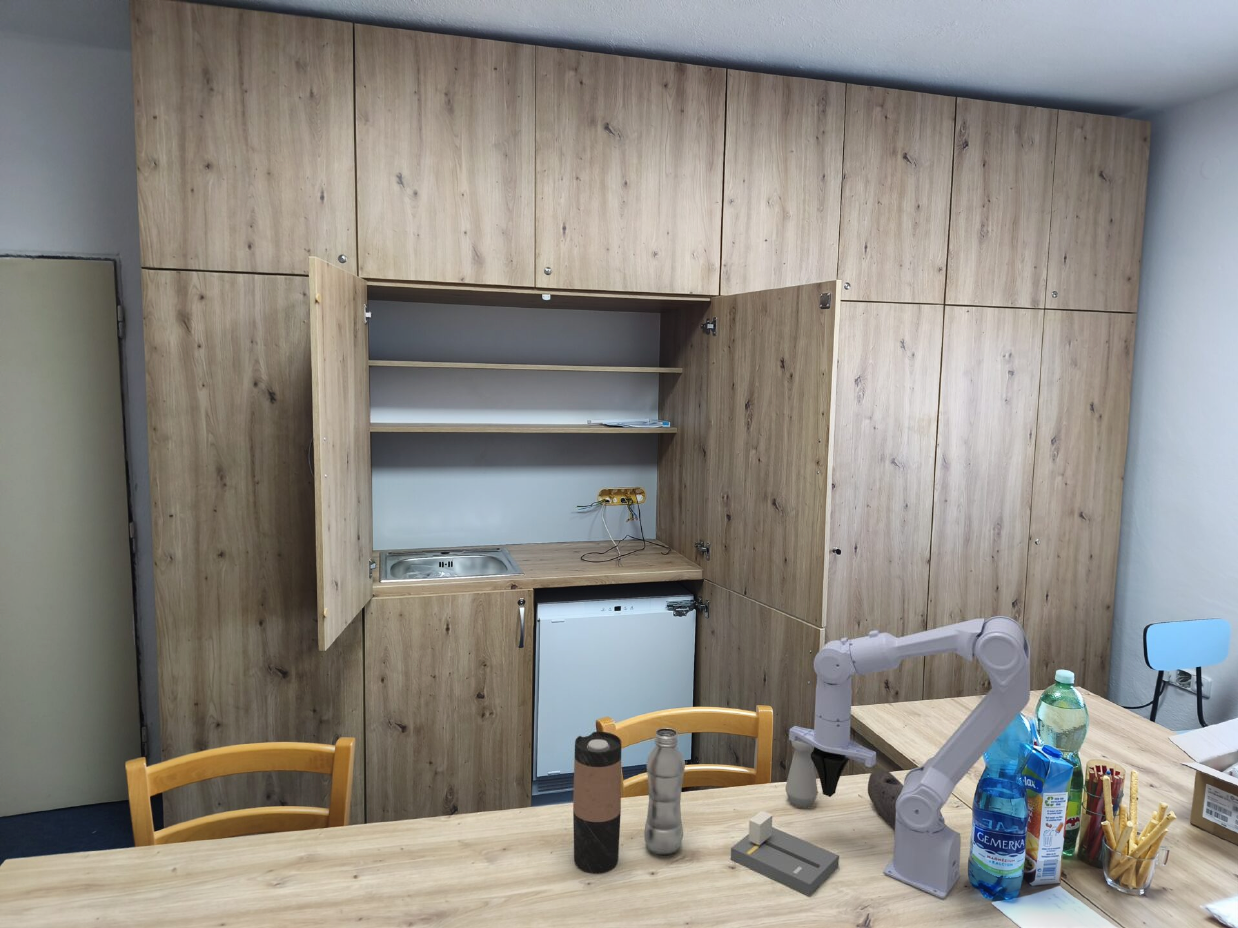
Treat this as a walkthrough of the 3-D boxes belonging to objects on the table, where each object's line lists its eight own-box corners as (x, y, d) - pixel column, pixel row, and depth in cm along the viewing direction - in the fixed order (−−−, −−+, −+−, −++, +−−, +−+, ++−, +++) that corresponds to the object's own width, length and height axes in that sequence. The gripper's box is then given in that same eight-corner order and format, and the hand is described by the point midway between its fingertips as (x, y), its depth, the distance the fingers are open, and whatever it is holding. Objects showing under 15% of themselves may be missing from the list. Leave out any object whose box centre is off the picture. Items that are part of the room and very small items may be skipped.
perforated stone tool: (931, 848, 131) (933, 808, 131) (901, 849, 131) (903, 810, 130) (891, 801, 146) (892, 766, 145) (864, 802, 145) (865, 767, 145)
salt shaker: (820, 811, 142) (823, 742, 141) (788, 810, 142) (791, 741, 141) (812, 794, 148) (815, 728, 147) (782, 794, 148) (785, 728, 147)
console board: (838, 866, 125) (839, 854, 125) (809, 896, 118) (809, 883, 118) (762, 833, 134) (762, 822, 134) (730, 859, 127) (731, 846, 127)
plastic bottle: (636, 852, 128) (639, 735, 126) (654, 832, 134) (657, 720, 132) (672, 864, 125) (676, 744, 123) (689, 843, 131) (692, 729, 129)
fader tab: (771, 834, 130) (772, 814, 129) (759, 845, 127) (760, 824, 126) (761, 830, 131) (761, 810, 131) (748, 840, 128) (749, 819, 128)
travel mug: (614, 877, 121) (616, 754, 120) (567, 870, 123) (568, 749, 121) (623, 849, 129) (626, 733, 127) (579, 843, 130) (580, 728, 129)
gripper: (885, 719, 127) (881, 799, 128) (804, 695, 137) (801, 770, 138) (867, 733, 122) (863, 816, 123) (784, 707, 131) (781, 784, 132)
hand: (829, 793), depth 130 cm, fingers closed
